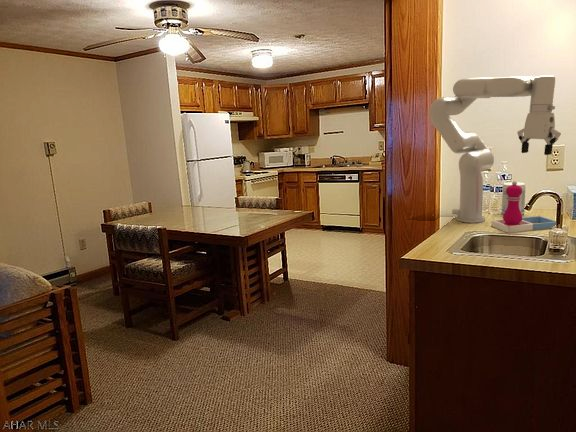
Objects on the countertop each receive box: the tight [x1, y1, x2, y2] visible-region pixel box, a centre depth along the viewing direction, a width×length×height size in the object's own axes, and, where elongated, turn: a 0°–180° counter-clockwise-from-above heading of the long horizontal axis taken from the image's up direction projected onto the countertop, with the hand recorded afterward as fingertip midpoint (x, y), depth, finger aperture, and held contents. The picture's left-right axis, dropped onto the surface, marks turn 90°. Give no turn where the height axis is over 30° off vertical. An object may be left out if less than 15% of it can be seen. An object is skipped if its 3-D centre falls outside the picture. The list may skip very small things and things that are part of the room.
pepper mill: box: [502, 180, 523, 226], centre depth 177 cm, size 7×7×20 cm
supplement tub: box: [501, 181, 526, 215], centre depth 201 cm, size 10×10×15 cm
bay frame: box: [490, 215, 557, 234], centre depth 179 cm, size 22×12×2 cm, turn 96°
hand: (535, 153), depth 167 cm, fingers open, 9 cm apart
